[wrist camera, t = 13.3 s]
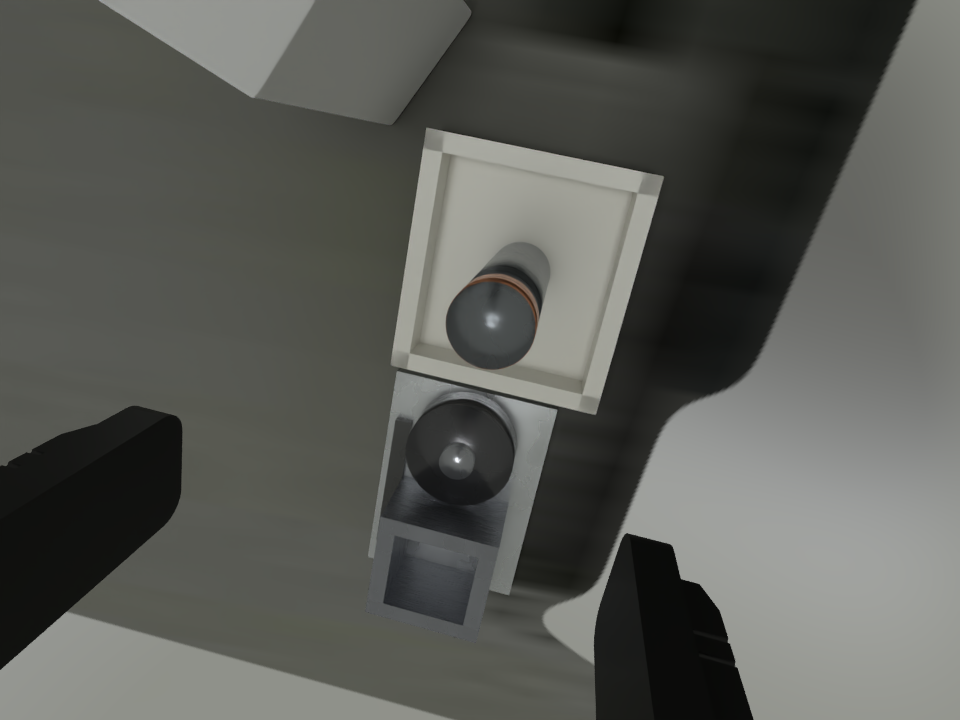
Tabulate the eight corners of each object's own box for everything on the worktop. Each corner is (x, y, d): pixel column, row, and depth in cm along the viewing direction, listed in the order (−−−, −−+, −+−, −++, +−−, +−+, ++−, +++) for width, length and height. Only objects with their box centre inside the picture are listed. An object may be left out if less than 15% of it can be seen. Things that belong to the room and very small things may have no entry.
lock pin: (496, 235, 33) (454, 272, 22) (557, 248, 33) (545, 292, 22) (484, 294, 34) (438, 358, 23) (543, 307, 34) (524, 378, 23)
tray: (439, 130, 33) (426, 127, 30) (656, 175, 32) (663, 176, 29) (404, 350, 37) (390, 365, 34) (594, 395, 36) (595, 415, 33)
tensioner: (402, 364, 37) (371, 400, 32) (558, 402, 36) (554, 445, 31) (373, 546, 42) (341, 605, 36) (510, 583, 41) (500, 649, 36)
